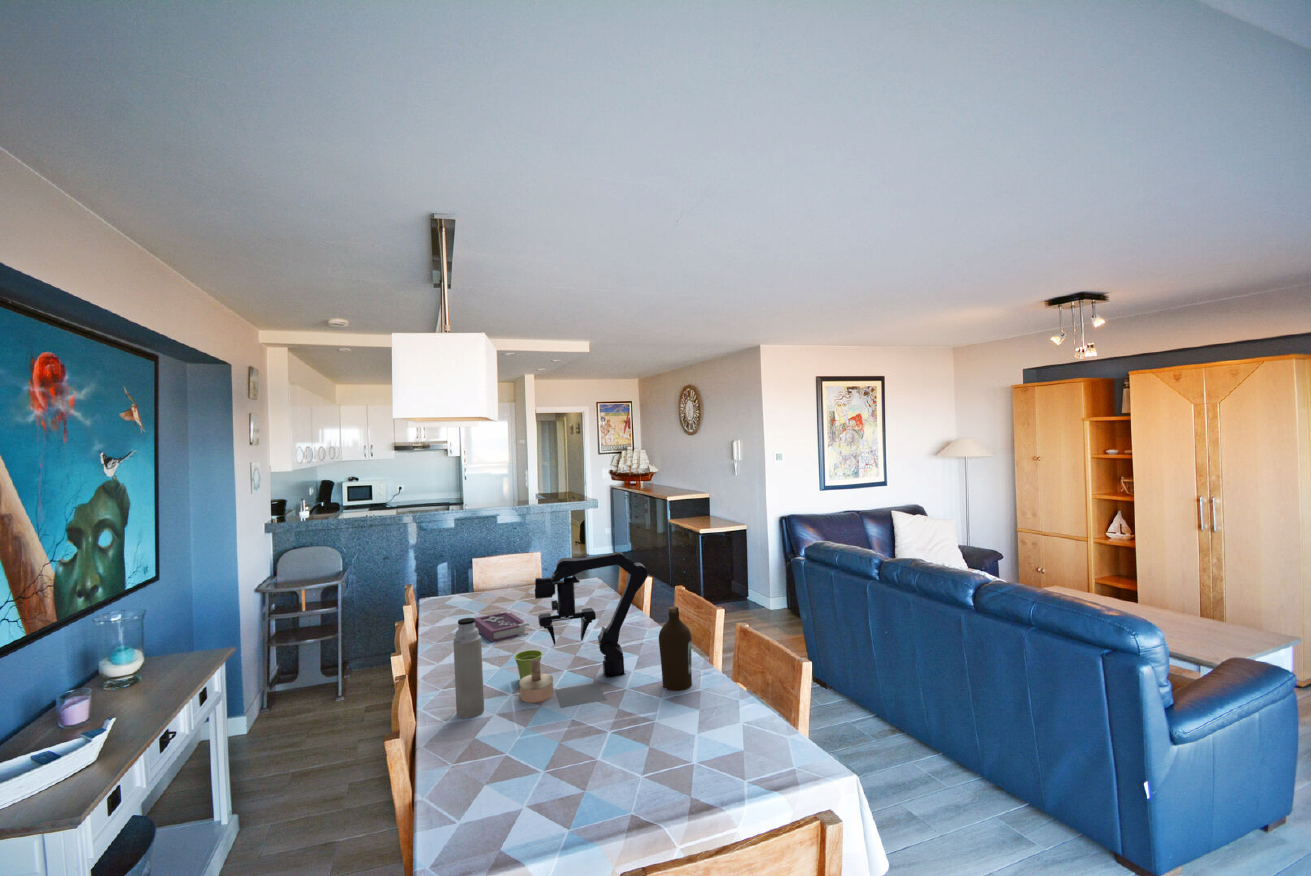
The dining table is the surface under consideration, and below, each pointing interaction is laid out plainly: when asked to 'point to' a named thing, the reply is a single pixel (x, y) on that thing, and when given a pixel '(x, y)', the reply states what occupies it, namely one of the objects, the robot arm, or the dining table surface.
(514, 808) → the dining table surface
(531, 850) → the dining table surface
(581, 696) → the mat
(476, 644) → the thermos bottle
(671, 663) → the olive oil
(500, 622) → the book
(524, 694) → the bowl
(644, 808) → the dining table surface
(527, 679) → the lid
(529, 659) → the plant pot
